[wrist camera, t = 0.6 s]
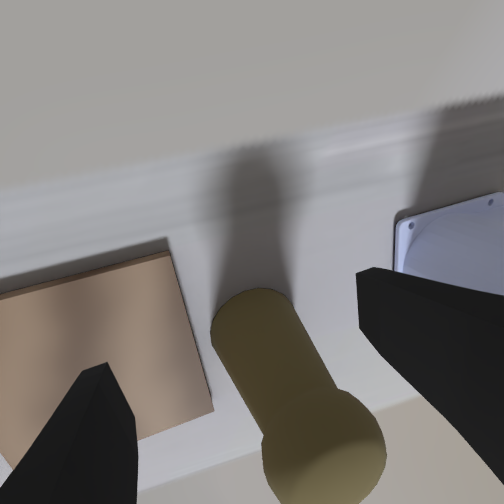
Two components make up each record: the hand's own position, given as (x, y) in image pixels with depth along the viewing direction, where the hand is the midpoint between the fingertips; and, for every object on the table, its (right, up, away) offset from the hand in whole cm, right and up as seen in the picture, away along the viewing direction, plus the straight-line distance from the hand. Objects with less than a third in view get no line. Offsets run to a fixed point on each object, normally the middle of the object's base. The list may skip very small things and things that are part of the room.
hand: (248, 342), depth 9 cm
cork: (0, -3, +13) cm, 13 cm away
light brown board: (-9, -4, +10) cm, 14 cm away
